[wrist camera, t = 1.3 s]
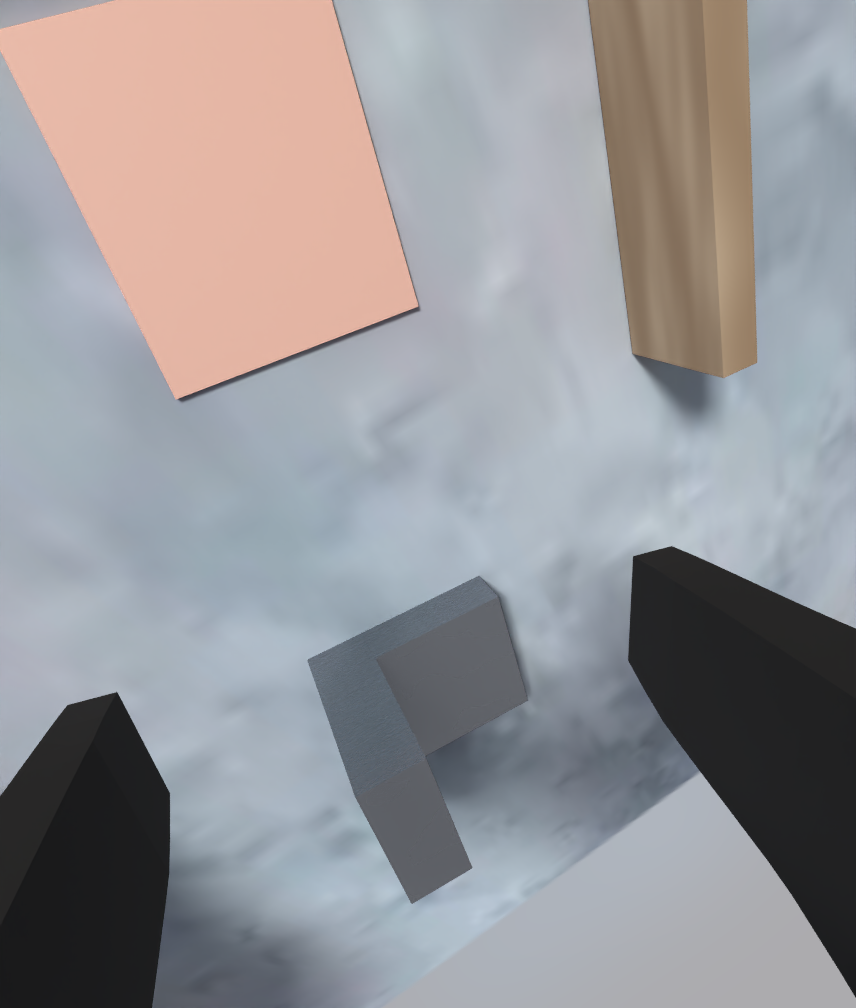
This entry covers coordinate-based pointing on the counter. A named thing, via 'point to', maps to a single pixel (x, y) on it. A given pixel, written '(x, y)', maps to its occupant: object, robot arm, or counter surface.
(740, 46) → the wooden corner frame
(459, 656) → the bracket
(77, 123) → the flat panel
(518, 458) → the counter surface
